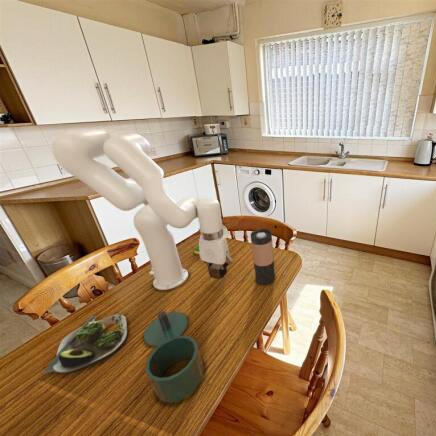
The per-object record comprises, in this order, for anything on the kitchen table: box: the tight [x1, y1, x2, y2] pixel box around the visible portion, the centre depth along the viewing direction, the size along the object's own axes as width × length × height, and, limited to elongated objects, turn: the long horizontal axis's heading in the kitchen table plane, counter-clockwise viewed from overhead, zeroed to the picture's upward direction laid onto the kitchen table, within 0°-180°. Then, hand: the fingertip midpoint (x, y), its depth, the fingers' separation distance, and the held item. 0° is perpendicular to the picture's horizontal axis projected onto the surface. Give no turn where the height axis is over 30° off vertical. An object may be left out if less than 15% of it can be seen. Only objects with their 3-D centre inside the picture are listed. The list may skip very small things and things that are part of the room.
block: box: [208, 263, 224, 280], centre depth 92 cm, size 4×4×4 cm
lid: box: [143, 310, 189, 348], centre depth 71 cm, size 12×12×7 cm
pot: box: [145, 335, 205, 404], centre depth 57 cm, size 11×11×8 cm
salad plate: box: [43, 314, 129, 375], centre depth 69 cm, size 19×18×5 cm
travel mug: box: [250, 228, 276, 285], centre depth 89 cm, size 8×8×20 cm
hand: (218, 274), depth 92 cm, fingers closed on block, 4 cm apart
